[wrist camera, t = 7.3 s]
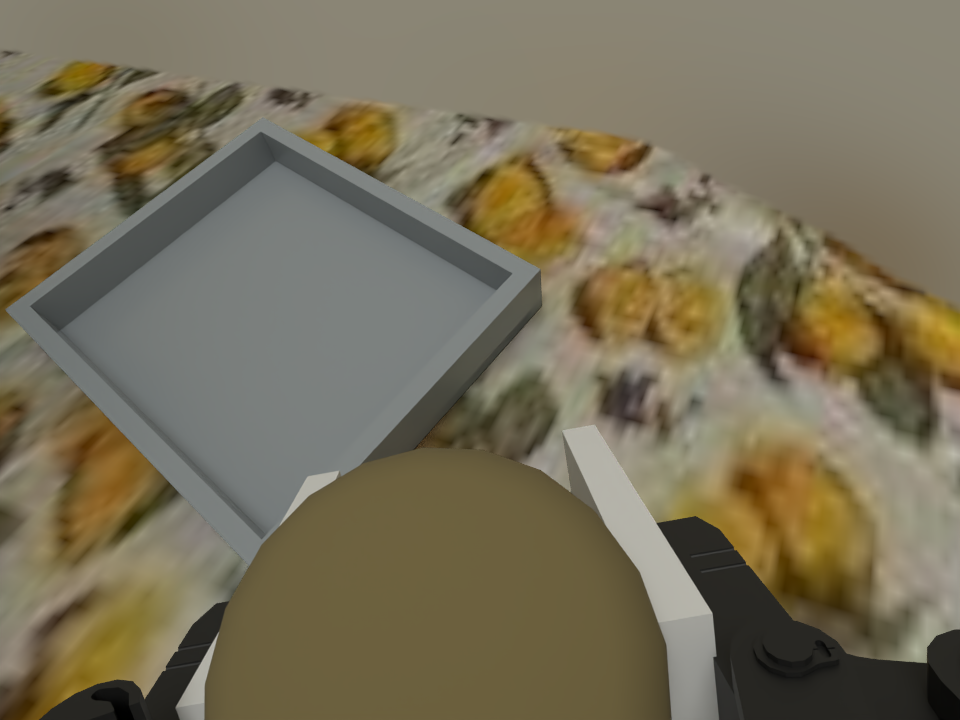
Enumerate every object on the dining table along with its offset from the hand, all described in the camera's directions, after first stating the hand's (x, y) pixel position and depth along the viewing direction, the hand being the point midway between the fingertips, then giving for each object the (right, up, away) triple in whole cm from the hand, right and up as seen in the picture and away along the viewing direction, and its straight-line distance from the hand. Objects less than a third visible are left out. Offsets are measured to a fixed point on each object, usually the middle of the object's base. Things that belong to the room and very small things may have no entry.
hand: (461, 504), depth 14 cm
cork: (+1, -5, +1) cm, 5 cm away
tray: (-9, +5, +13) cm, 17 cm away
